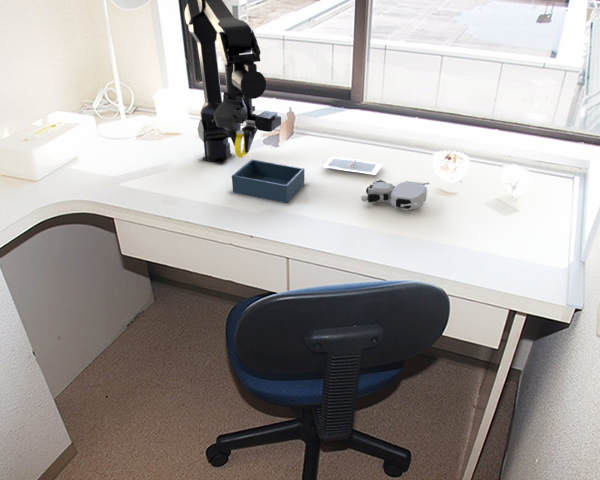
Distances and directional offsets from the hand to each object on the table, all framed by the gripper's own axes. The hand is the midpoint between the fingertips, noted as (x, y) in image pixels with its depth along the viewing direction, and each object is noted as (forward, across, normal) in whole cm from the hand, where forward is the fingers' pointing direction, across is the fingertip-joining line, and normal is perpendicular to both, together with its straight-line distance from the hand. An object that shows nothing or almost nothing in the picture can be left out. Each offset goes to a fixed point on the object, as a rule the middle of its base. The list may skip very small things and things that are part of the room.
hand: (242, 151), depth 135 cm
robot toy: (+11, +36, +10) cm, 39 cm away
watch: (+1, 0, 0) cm, 1 cm away
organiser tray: (+11, +5, +4) cm, 13 cm away
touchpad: (+11, +20, +25) cm, 34 cm away
